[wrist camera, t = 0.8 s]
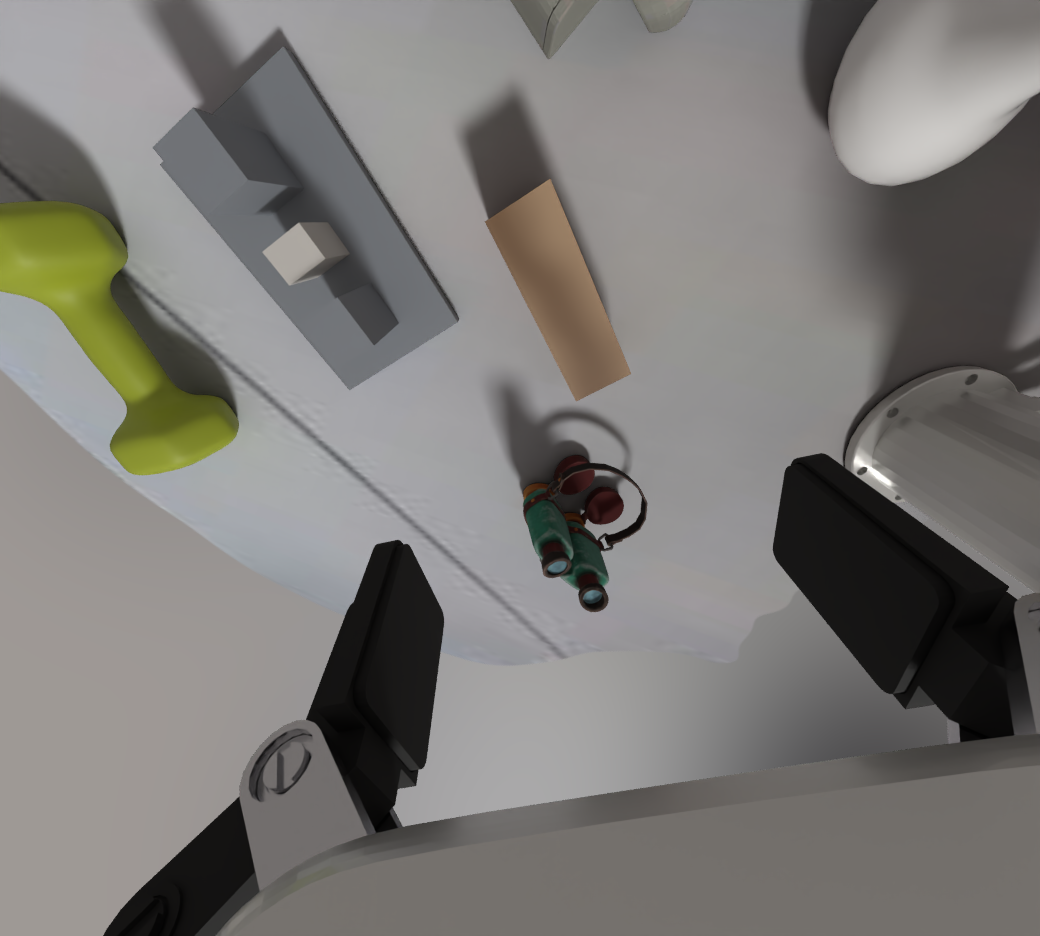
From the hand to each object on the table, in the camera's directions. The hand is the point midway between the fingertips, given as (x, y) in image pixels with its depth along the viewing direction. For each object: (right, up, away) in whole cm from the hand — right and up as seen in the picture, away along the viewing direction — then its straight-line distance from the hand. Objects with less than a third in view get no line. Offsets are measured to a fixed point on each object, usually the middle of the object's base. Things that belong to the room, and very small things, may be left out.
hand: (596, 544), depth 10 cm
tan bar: (+1, +14, +18) cm, 23 cm away
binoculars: (+3, 0, +27) cm, 28 cm away
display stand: (-15, +16, +17) cm, 28 cm away
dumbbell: (-29, +12, +20) cm, 37 cm away
